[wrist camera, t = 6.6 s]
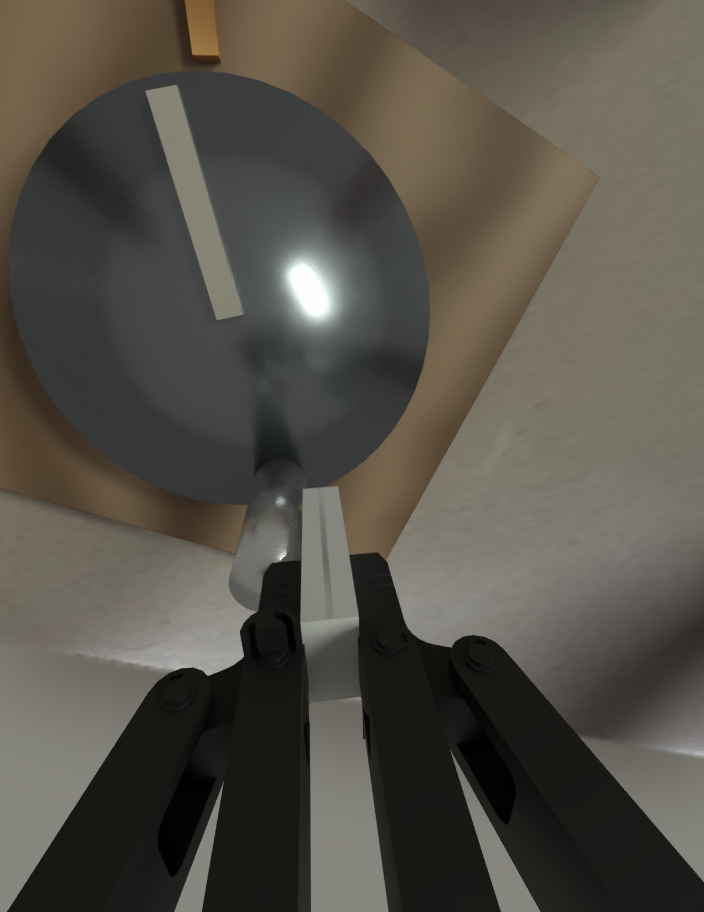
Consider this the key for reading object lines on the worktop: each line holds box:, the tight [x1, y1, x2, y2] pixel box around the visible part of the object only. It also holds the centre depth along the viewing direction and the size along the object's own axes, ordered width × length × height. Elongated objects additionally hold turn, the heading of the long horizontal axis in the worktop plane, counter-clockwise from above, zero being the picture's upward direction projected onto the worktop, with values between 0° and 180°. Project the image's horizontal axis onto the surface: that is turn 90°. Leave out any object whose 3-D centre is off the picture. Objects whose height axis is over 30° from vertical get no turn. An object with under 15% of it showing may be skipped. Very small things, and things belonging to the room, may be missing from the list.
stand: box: [0, 0, 600, 560], centre depth 19 cm, size 24×24×2 cm
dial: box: [8, 70, 430, 612], centre depth 14 cm, size 16×16×9 cm
